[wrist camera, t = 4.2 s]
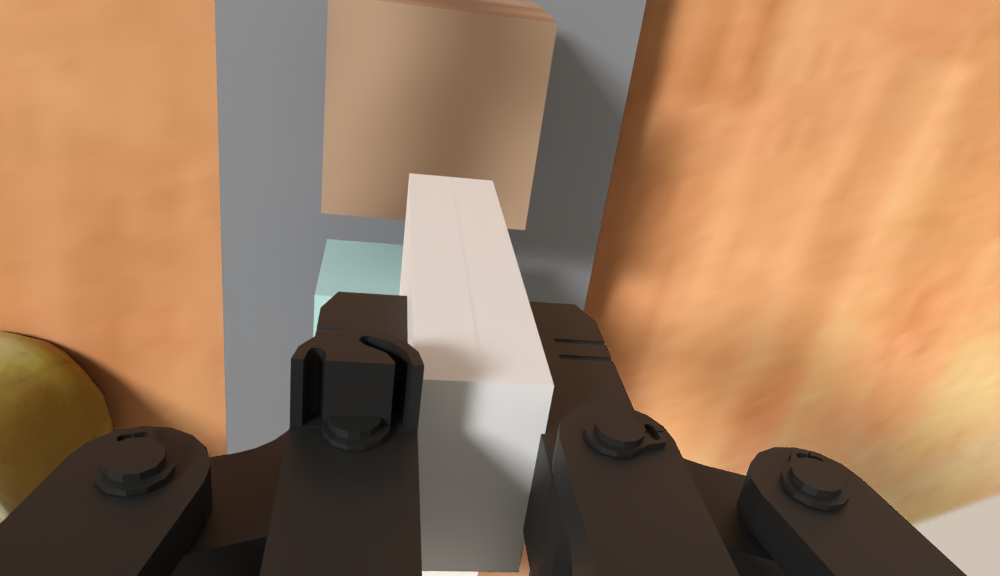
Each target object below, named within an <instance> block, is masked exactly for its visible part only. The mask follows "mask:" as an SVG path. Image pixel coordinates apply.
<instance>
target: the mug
mask: <svg viewBox="0 0 1000 576" xmlns="http://www.w3.org/2000/svg"><path fill="white" fill-rule="evenodd" d="M113 431H114V425H113V421H112V419H111V417H110V414H109V410H108V406H107V404H106V401H105V398H104V396H103V394H102V392H101V391H100V389H99V388H98V387H97V386H96V385H95V384H94V383H93V382H92V380H91V379H90V378H89V376H88V375H87V373H86V372H85V371H84V370H83V369H82V368H81V367H80V366H79V365H78V364H77V363H76V362H75V361H74V360H73V359H71V357H70V356H69V355H68V354H67V353H66V352H64V351H63V350H61V349H59V348H57V347H56V346H54V345H52V344H50V343H48V342H46V341H44V340H40V339H35V338H30V337H26V336H22V335H18V334H14V333H7V332H2V331H0V523H1V522H2V521H3V520H4V519H5V518H6V517H7V516H8V515H9V514H10V513H11V512H12V511H13V510H14V509H15V508H16V507H17V506H18V505H19V504H20V503H21V502H22V501H23V500H24V499H25V498H26V497H27V496H28V495H29V494H30V493H31V492H32V491H33V490H34V489H35V488H36V487H37V486H38V485H39V484H40V483H41V482H42V481H43V480H44V479H45V478H46V477H47V476H48V475H49V474H50V473H51V472H52V471H53V470H54V469H55V468H56V467H57V466H58V465H59V464H60V463H61V462H62V461H63V460H64V459H65V458H66V457H67V456H69V455H70V454H71V453H73V452H74V451H75V450H77V449H78V448H80V447H81V446H82V445H84V444H85V443H87V442H88V441H90V440H93V439H95V438H98V437H100V436H103V435H106V434H108V433H111V432H113Z"/></svg>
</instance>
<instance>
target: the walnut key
mask: <svg viewBox="0 0 1000 576" xmlns="http://www.w3.org/2000/svg"><path fill="white" fill-rule="evenodd" d="M557 24H558V23H557V22H556V21H555V20H554V19H553V18H552V17H551V16H550V15H549V14H548V13H546V12H545V11H544V10H543V9H542V8H541V7H540V6H539V5H538V4H537V3H535V2H527V1H519V0H328V19H327V49H326V79H325V109H324V139H323V169H322V199H321V213H324V214H336V215H348V216H360V217H373V218H385V219H397V220H405V219H406V207H407V195H408V183H409V173H412V174H423V175H435V176H446V177H457V178H468V179H479V180H491V181H493V183H494V187H495V190H496V193H497V197H498V200H499V203H500V207H501V210H502V213H503V217H504V220H505V223H506V227H507V229H518V230H525V227H526V221H527V215H528V208H529V202H530V195H531V189H532V183H533V176H534V170H535V164H536V157H537V151H538V145H539V138H540V132H541V125H542V119H543V113H544V106H545V100H546V94H547V87H548V81H549V75H550V68H551V62H552V55H553V49H554V43H555V36H556V30H557Z"/></svg>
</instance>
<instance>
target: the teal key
mask: <svg viewBox="0 0 1000 576" xmlns="http://www.w3.org/2000/svg"><path fill="white" fill-rule="evenodd" d="M402 255H403V245H397V244H385V243H372V242H359V241H346V240H333V239H327V242H326V246H325V251H324V255H323V260H322V264H321V268H320V273H319V277H318V282H317V286H316V291H315V296H314V328H313V337H314V336H315V333H316V330H317V323H318V318H319V313H320V308H321V307H322V306H323V305H324V304H325V303H326V302H327V301H328V300H329V299H331V298H332V297H333V296H334V295H335V294H336V293H337V292H338V291H339V292H355V293H370V294H385V295H399V292H400V279H401V267H402Z"/></svg>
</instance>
